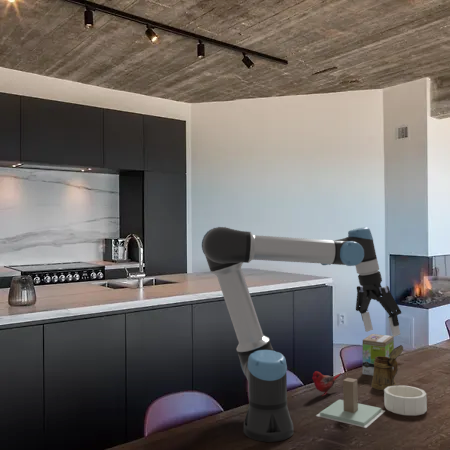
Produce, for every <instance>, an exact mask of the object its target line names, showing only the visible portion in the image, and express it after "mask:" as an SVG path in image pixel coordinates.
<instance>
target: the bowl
mask: <svg viewBox="0 0 450 450" xmlns="http://www.w3.org/2000/svg"><path fill="white" fill-rule="evenodd" d="M383 393H384V394H383V396H384V397H383V401H384V402H383V403H384V405H383V406H384V407H385V409H386V410H387V411H389V412H392V413H394V414H397V415H401V416H415V417H416V416H420V415H424V414H426V412H427V411H428V408H427V407H428V405H427V404H428V401H427V392H426V391H425V390H424V389H422V388H418V387H415V386H409V385H399V384H398V385H397V384H396V385H395V386H389V387H387V388H385V389H384V390H383Z"/></svg>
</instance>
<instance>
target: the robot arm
mask: <svg viewBox="0 0 450 450" xmlns="http://www.w3.org/2000/svg"><path fill="white" fill-rule="evenodd" d="M347 233H348V234H347V237H344V238H340V239H335V240H333V239H319V238H305V237H304V238H302V237H286V236H269V235H257V234H256V235H255V234H253V233H252V232H251V231H247V230H245V231H244V230H238V229H233V228H230V227H226V226H224V227H223V226H217V227H213V228H211V229H209V230H208V231H207V232H205V234H204V235H203V237H202V241H201V250H202V253H203V254H204V256H205V259H206V262H207V265H208V268H209V270H210V271H209V272H210V273H211V274H213V275H215V276H216V278H217V280H218V284H219V287H220V291H221V292H222V297H223V298H224V302H225V304H226V308H227V311H228V313H229V316H230V320H231V323H232V326H233V329H234V332H235V335H236V339H237V341H238V345H237V346H236V352H237V356H238V358H239V362H240V367H241V370H242V372H243V373H242V374H243V375H244V376H245V378H246V380H247V382H248V408H247V411H246V415H245V418H244V420H243V421H244V422H243V433H244V436H246V437H248V438H249V439H251V440H253V441H259V442H267V443H270V442H271V443H275V442H280V441H285V440H287V439H289V438H291V437H292V436H293V434H294V423H293V420H292V418H291V414H290V411H289V408H288V392H287V391H288V388H287V386H288V385H287V384H288V383H287V382H288V381H287V379H288V378H287V371H288V366H287V361H286V357H285V356H284V354H282V353H281V352H279V351H275V350H274V348H273V346H272V343H271V340H270V337H268V336H266V335H265V334H264V333H263V330H262V327H261V324H260V322H259V318H258V315H257V312H256V309H255V306H254V303H253V300H252V295H251V294H250V291H249V287H248V285H247V281H246V279H245V276H244V272H243V269H242V266H243V264H244V263H247V264H249V263H251V261H254V260H255V261H266V262H267V261H269V262H270V261H271V262H285V263H286V262H289V263H290V262H291V263H303V264H304V263H305V264H321V265H322V266H328V265H329V266H330V265H337V266H338V265H339V266H347V267H355V270H356V273H357V274H358V275H357V278H358V279H357V280H358V283H359V286H358V285H357V286H356V292H357V294H356V301H355V302H356V303H355V311H356V312H359V313H360V314H361V319H362V322H363V326H364V330H365V332H367V333H368V332H370V331H373V330H374V329H373V324H372V319H371V315H370V312H369V306H370V303H371V300H373V301H376V302H378V303H379V304H380V305H381V307H382V308H383V309H384V310H385V312H386V313H387V314H388V322H389V327H390V331H391V336H393V337H394V338H395V337H397V336H400V335H401V331H400V330H401V329H400V322H399V319H398V318H399V317H398V315H401V314H402V311H401V308H400V307H399V305H398V303H397V301H396V300H395V298H394V296H393V294H392V293H391V290H390V287H389V286H388V285H386V286H385V285H384V286H382V284H381V283H382V282H383V278H382V275H381V274H382V273H381V271H380V266H379V261H378V257H377V251H376V248H375V243H374V238H373V234H372V232H371V229H370V228H369V227H366V226H364V227H359V228H355V229H351V230H349V231H348V232H347Z"/></svg>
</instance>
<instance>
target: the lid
mask: <svg viewBox="0 0 450 450" xmlns="http://www.w3.org/2000/svg"><path fill="white" fill-rule="evenodd" d="M358 387H359V386H358V379H357V378H351V377H346V378H345V379H342V394H343V395H342V397H343V399H337V400H336V401H334V402H333V403H331V404H330V405H329V406H328V407H326V408H325V409H323V410H321V411H320V412H319V413H320V416H324V417H329V418H333V419H337V420H341V421H345V422H349V423H354V424H358V425H362V426H365V425H366V424H367V423H368V422H369V421H371V420H372V419H373V418H374V417H375V416H376V415H378V414H379V413H380V412H381V410H382V407H377V406H373V405H369V404H363V403H359V401H358V400H359V398H358V397H359V396H358V394H359V393H358V392H359V390H358Z"/></svg>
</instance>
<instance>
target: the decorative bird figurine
mask: <svg viewBox="0 0 450 450" xmlns="http://www.w3.org/2000/svg"><path fill="white" fill-rule="evenodd" d="M341 375H342V373H341V372H340V373H338V374H337V375H335V376H331V375H324V374H322V373H321V372H320V371H318V370H316V371H314V372H313V373H312V377H311V379H312V380H313V384H314V386H315V389H316V390H318V391H319V392H320V393H321V392H322V393H323V394H321V397H323V396H325V395H328V394H329V393H328V391H329V390H330V389H331V388H332V387H333V386H334V385H335V382H336V380H337V379H338V378H339V377H340V376H341Z"/></svg>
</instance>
